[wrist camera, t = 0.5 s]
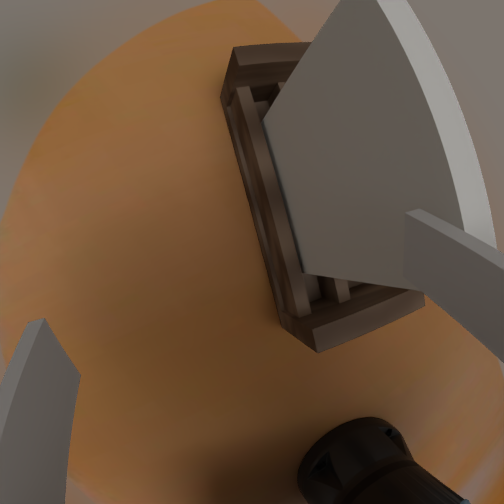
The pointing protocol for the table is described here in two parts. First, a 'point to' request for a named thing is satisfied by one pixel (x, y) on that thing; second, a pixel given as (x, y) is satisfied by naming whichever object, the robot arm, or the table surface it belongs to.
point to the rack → (276, 222)
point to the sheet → (371, 145)
